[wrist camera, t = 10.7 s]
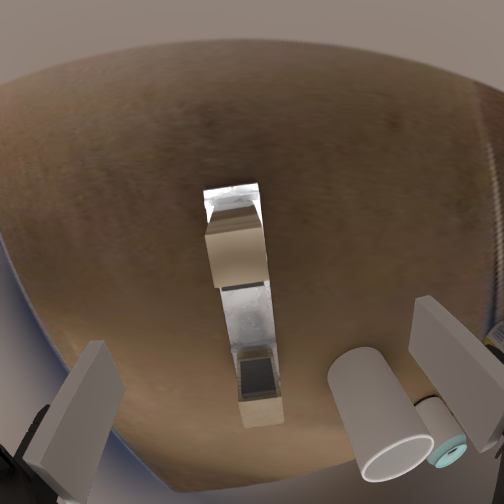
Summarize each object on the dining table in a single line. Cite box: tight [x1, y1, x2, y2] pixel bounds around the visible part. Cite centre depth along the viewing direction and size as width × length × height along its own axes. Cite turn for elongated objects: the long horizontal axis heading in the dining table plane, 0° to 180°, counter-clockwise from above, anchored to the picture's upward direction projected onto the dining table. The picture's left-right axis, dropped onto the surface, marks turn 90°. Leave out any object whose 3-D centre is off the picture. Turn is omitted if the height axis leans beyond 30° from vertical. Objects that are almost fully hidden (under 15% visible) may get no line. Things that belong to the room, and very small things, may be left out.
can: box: [415, 397, 467, 468], centre depth 38 cm, size 7×7×12 cm
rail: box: [203, 181, 284, 428], centre depth 30 cm, size 5×24×10 cm, turn 7°
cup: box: [327, 347, 434, 482], centre depth 32 cm, size 8×8×16 cm
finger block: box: [205, 206, 269, 292], centre depth 26 cm, size 5×4×8 cm
